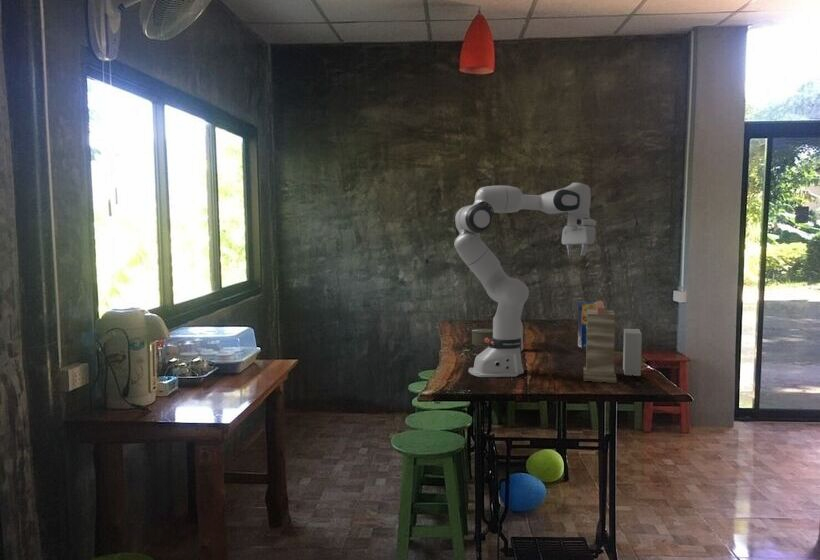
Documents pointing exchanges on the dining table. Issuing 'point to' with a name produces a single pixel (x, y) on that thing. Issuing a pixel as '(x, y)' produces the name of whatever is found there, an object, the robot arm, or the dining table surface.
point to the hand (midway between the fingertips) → (576, 255)
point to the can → (481, 336)
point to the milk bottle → (521, 335)
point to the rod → (600, 307)
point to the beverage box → (583, 322)
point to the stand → (600, 347)
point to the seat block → (632, 352)
